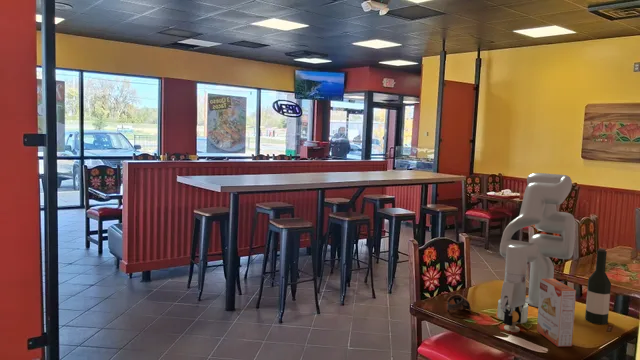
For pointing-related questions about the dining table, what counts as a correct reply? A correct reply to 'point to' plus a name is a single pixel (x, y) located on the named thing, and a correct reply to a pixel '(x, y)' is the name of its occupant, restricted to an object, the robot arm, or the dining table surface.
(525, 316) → the pale green bowl
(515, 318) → the ball
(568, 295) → the cracker box
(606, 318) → the wine bottle
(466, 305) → the pottery mug
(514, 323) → the ball stand
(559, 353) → the dining table surface
